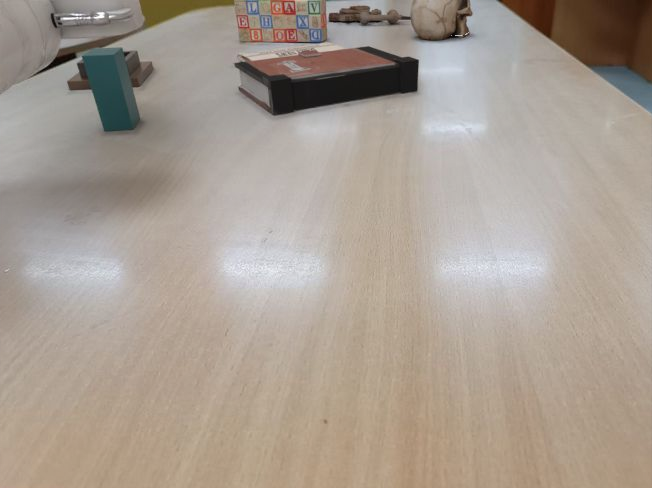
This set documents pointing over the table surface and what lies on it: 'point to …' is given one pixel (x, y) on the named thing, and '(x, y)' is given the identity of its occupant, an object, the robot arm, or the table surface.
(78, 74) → the lower pad
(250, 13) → the stack of blocks
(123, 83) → the teal rectangular block
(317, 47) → the newspaper
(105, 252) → the table surface
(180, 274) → the table surface
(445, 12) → the skull
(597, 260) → the table surface
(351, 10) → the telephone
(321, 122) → the table surface
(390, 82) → the book
